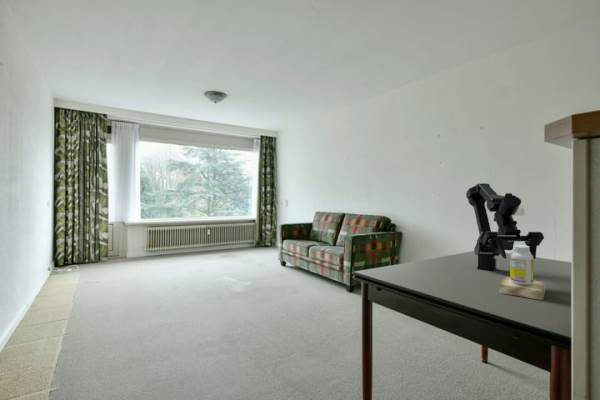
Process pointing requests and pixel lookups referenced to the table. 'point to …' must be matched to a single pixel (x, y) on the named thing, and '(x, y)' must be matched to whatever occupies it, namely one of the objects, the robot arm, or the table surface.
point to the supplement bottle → (521, 265)
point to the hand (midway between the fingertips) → (519, 258)
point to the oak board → (523, 289)
